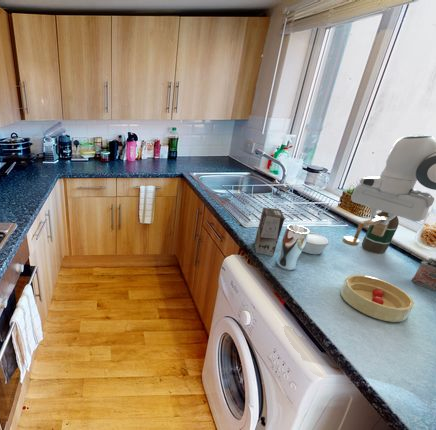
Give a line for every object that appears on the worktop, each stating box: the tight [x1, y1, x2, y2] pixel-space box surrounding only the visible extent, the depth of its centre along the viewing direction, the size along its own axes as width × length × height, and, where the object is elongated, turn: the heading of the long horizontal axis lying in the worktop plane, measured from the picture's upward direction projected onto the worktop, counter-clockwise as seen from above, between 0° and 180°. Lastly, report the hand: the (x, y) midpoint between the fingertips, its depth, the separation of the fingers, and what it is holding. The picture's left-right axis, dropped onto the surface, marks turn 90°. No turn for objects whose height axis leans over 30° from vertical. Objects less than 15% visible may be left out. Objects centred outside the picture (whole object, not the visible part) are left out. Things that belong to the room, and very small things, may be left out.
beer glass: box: [276, 224, 310, 271], centre depth 101 cm, size 7×7×15 cm
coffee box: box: [254, 207, 286, 257], centre depth 110 cm, size 9×6×16 cm
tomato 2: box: [372, 297, 384, 305], centre depth 84 cm, size 3×3×3 cm
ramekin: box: [302, 231, 330, 255], centre depth 114 cm, size 11×11×5 cm
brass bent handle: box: [342, 216, 389, 247], centre depth 99 cm, size 19×4×7 cm, turn 113°
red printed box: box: [410, 257, 436, 291], centre depth 93 cm, size 8×3×10 cm, turn 47°
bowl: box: [340, 274, 415, 323], centre depth 85 cm, size 15×15×5 cm
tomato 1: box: [372, 289, 384, 298], centre depth 88 cm, size 3×3×3 cm
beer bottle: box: [361, 211, 400, 254], centre depth 111 cm, size 8×8×24 cm
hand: (378, 222), depth 100 cm, fingers closed on brass bent handle, 2 cm apart
